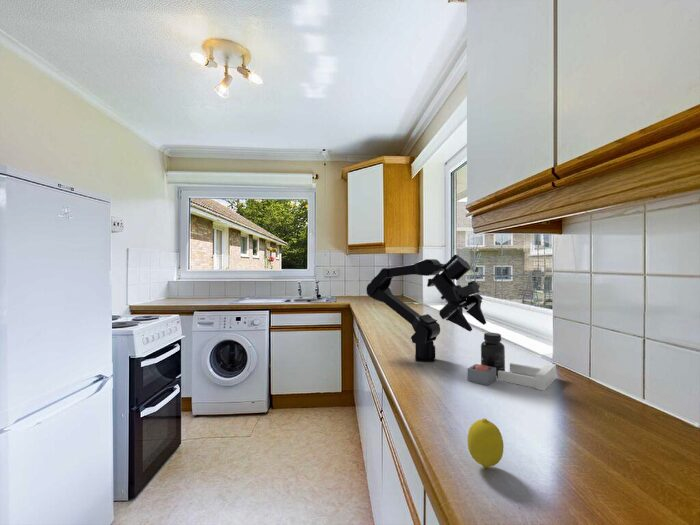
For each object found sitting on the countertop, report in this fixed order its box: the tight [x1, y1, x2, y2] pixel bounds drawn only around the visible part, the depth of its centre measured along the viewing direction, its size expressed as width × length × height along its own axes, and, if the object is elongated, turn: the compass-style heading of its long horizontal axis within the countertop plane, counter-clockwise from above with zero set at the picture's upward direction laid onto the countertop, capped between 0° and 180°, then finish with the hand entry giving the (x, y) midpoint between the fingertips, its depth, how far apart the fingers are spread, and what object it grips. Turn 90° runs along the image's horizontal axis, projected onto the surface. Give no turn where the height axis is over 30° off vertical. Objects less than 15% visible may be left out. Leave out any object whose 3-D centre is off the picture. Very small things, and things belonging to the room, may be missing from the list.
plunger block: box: [466, 363, 497, 386], centre depth 98 cm, size 6×6×4 cm
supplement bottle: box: [480, 332, 506, 377], centre depth 105 cm, size 7×7×12 cm
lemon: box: [467, 417, 504, 469], centre depth 56 cm, size 6×6×8 cm
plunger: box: [474, 363, 488, 371], centre depth 98 cm, size 4×4×4 cm
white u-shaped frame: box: [497, 362, 557, 391], centre depth 99 cm, size 12×13×4 cm
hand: (478, 327), depth 109 cm, fingers open, 9 cm apart
